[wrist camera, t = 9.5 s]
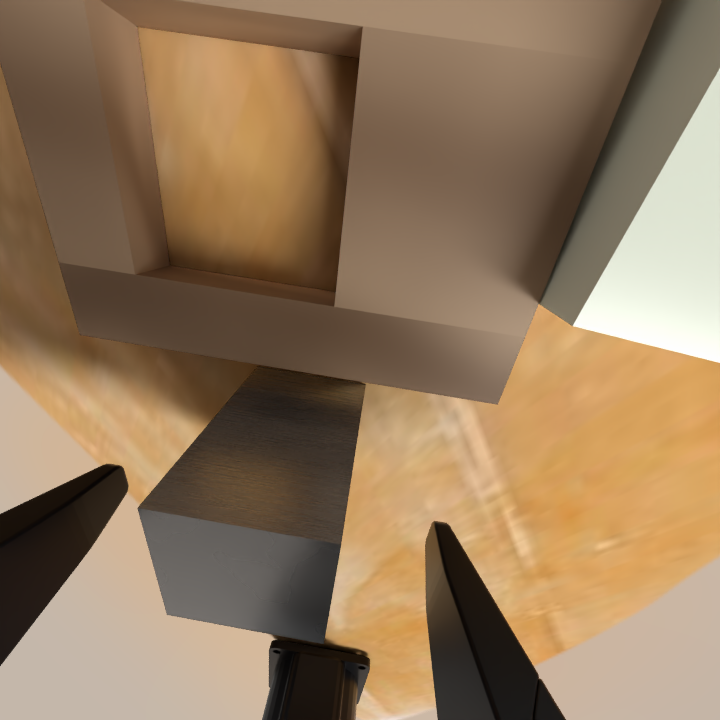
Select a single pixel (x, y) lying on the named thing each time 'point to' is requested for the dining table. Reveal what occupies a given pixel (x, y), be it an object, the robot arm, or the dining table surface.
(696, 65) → the sage cover
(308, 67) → the dining table surface
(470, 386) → the walnut board
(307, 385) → the grey block
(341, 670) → the robot arm
